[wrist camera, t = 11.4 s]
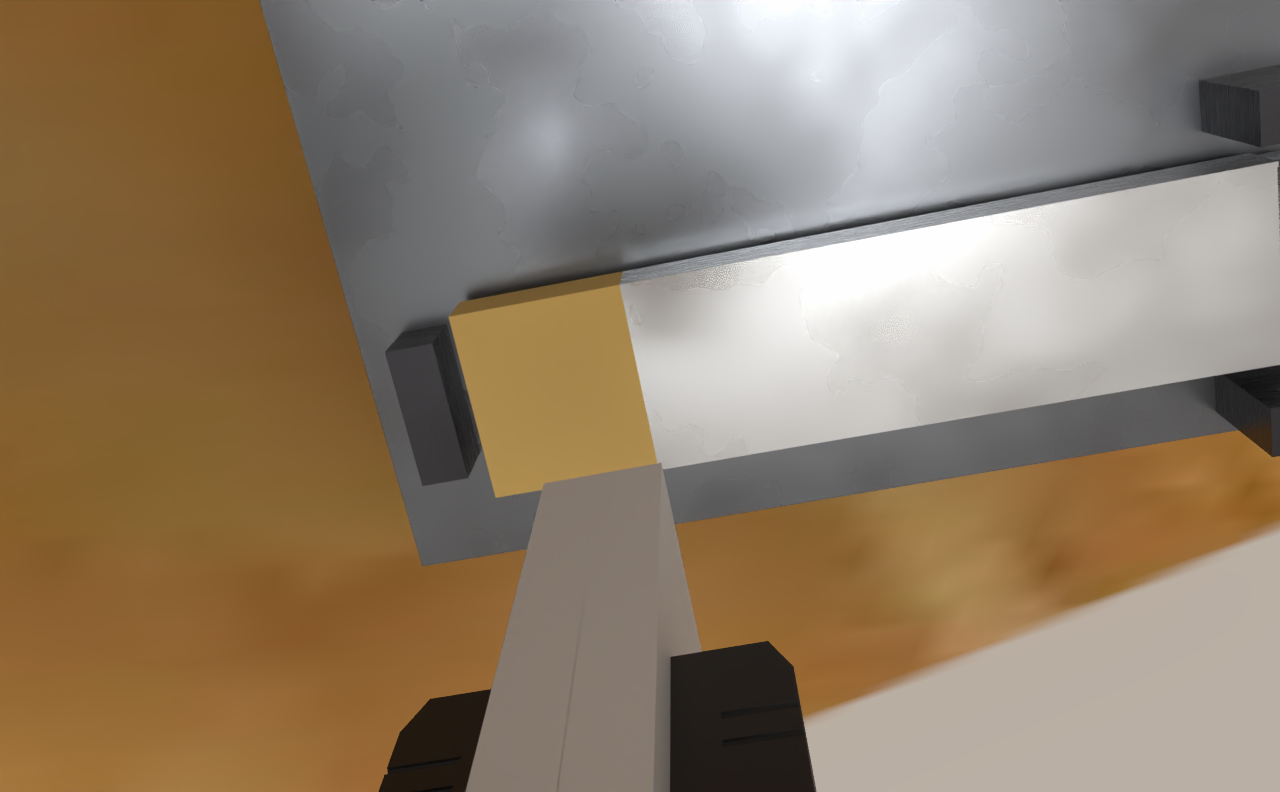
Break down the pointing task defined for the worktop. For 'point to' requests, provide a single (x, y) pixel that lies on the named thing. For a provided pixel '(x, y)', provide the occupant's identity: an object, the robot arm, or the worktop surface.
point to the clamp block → (736, 188)
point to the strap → (881, 326)
